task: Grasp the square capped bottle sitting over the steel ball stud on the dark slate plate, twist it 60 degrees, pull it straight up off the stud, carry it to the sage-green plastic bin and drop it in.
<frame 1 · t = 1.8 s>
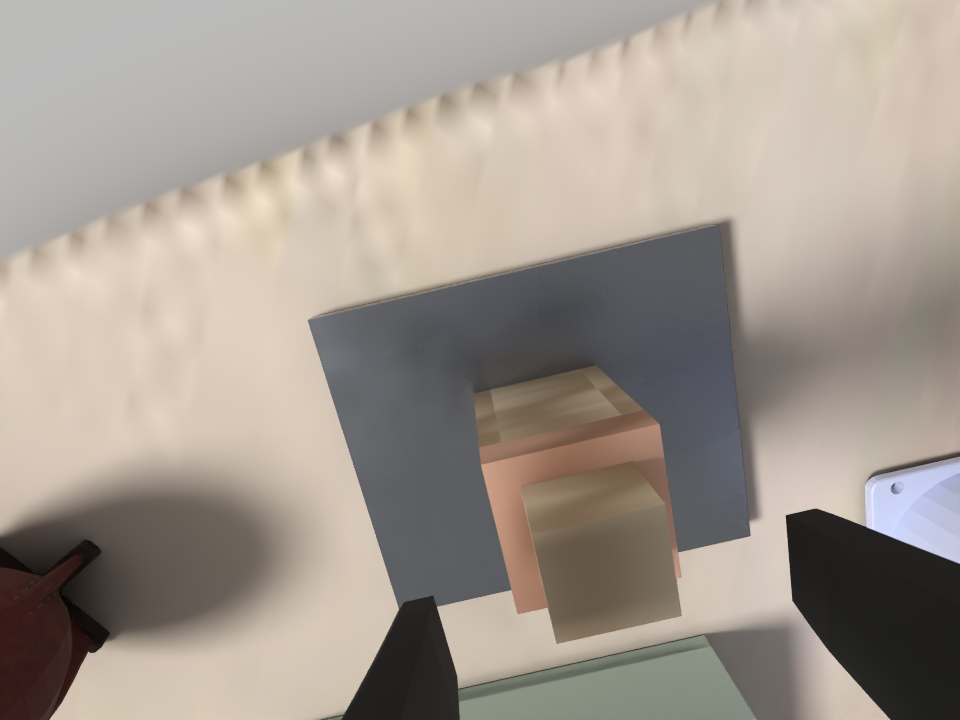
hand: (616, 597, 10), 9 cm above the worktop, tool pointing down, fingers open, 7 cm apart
square capped bottle: (546, 436, 18), point 1 cm above the worktop, touching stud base
mate gourd: (34, 589, 20), on the worktop
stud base: (542, 428, 19), on the worktop
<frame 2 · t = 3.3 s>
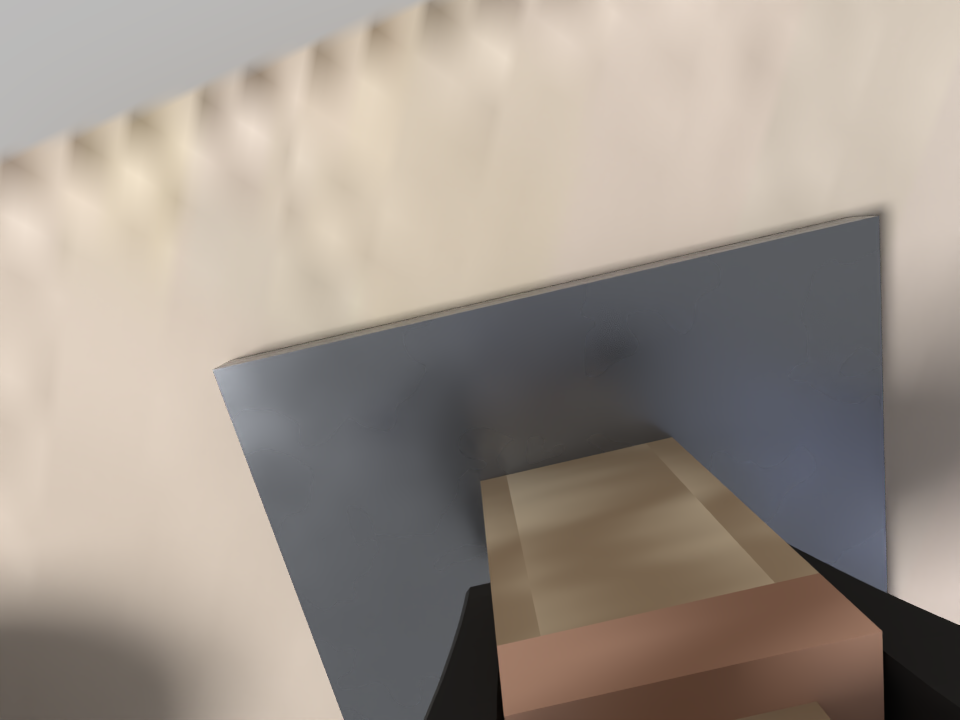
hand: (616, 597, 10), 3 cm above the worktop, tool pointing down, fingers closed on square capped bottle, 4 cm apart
square capped bottle: (592, 543, 12), point 1 cm above the worktop, touching gripper, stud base
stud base: (583, 523, 12), on the worktop
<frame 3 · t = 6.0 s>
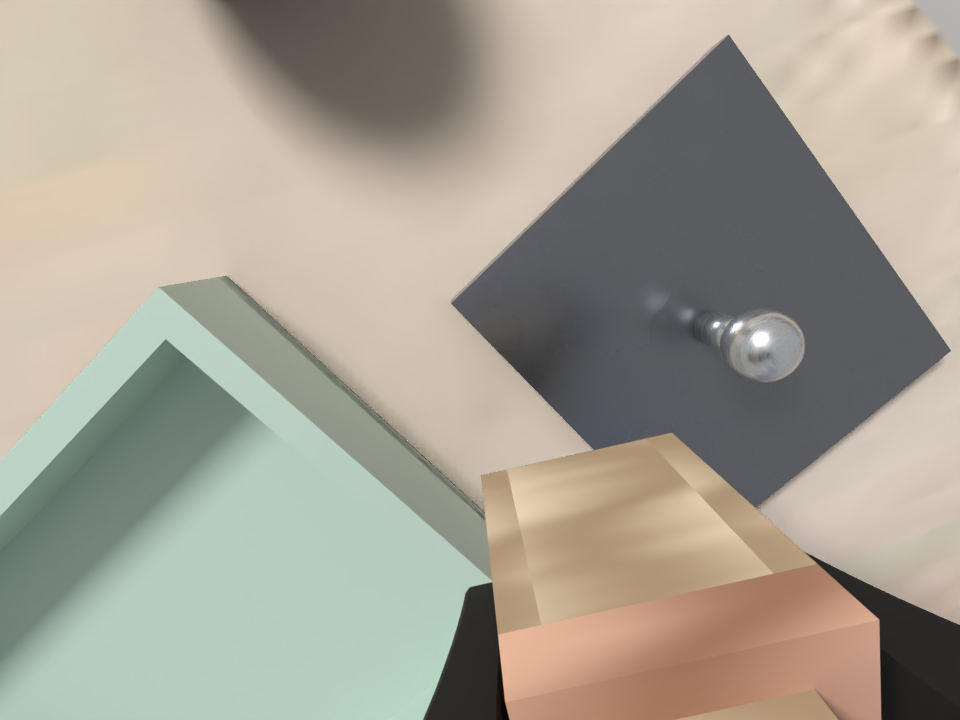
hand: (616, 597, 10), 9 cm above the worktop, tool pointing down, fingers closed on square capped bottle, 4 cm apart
square capped bottle: (591, 537, 12), point 8 cm above the worktop, touching gripper
bin: (225, 621, 20), on the worktop
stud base: (699, 324, 18), on the worktop
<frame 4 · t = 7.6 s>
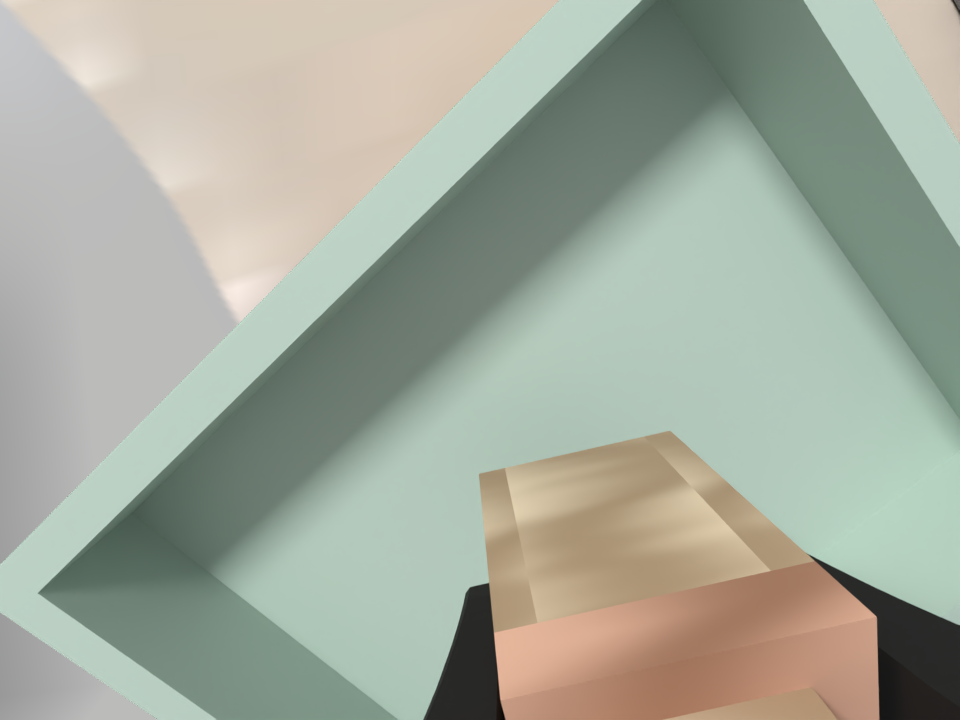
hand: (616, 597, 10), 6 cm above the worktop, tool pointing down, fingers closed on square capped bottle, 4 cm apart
square capped bottle: (590, 536, 12), point 4 cm above the worktop, touching gripper
bin: (559, 466, 15), on the worktop
when the fingers open (4 cm above the worktop, at t = 8.8 s): square capped bottle drops 1 cm, resting on bin.
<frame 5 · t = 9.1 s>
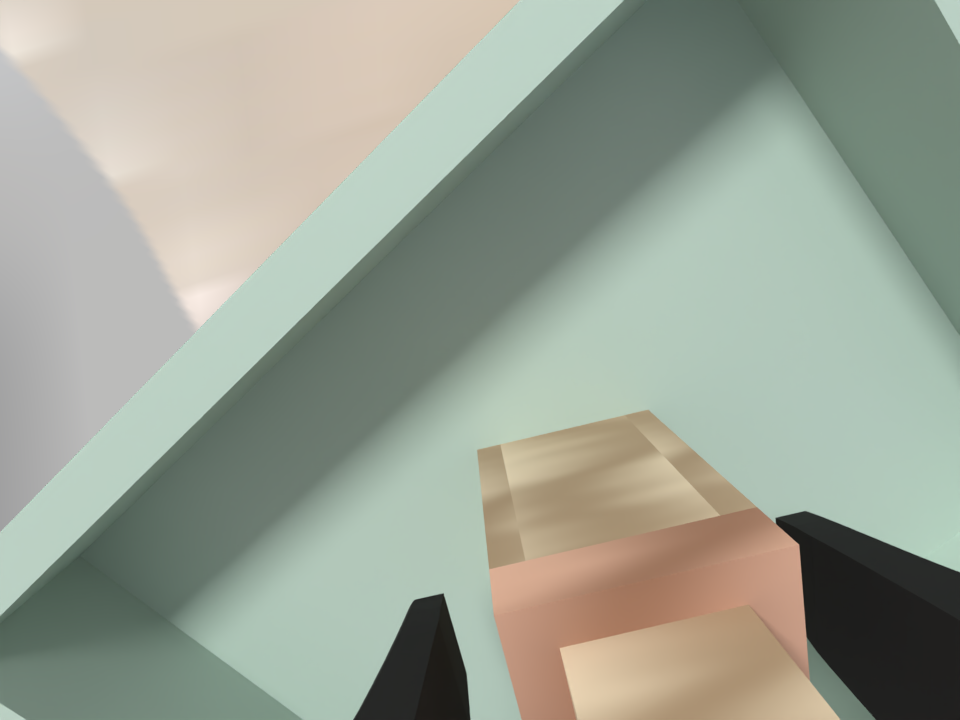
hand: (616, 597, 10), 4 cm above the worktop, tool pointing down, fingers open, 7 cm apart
square capped bottle: (577, 506, 13), point 1 cm above the worktop, touching bin
bin: (572, 499, 14), on the worktop
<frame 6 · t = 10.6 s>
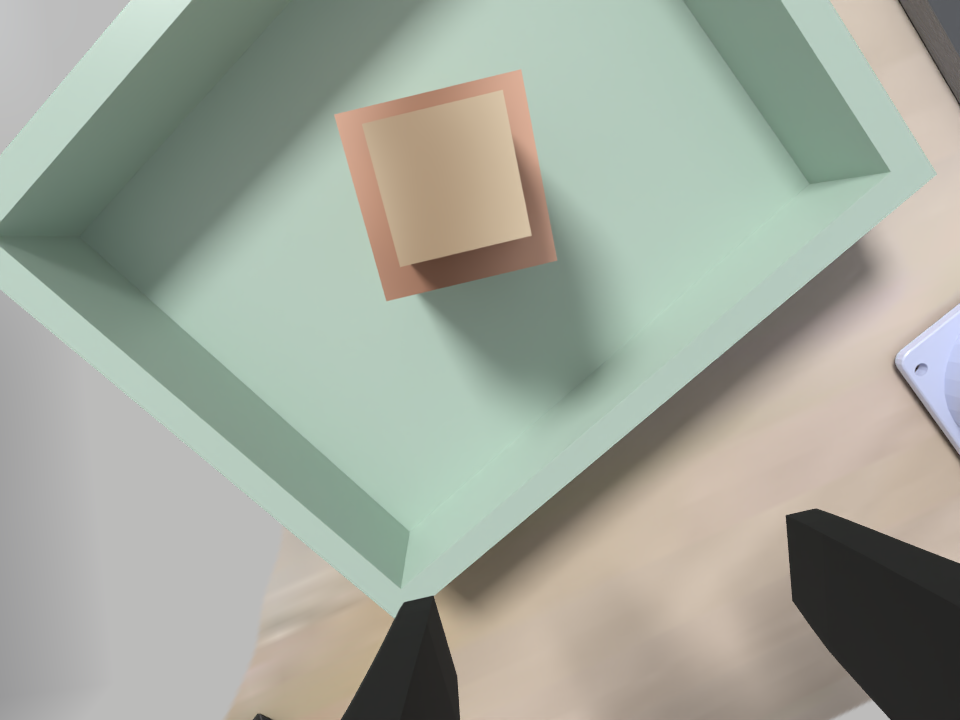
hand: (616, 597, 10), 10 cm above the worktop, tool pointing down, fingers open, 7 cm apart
square capped bottle: (452, 205, 17), point 1 cm above the worktop, touching bin
bin: (452, 210, 18), on the worktop
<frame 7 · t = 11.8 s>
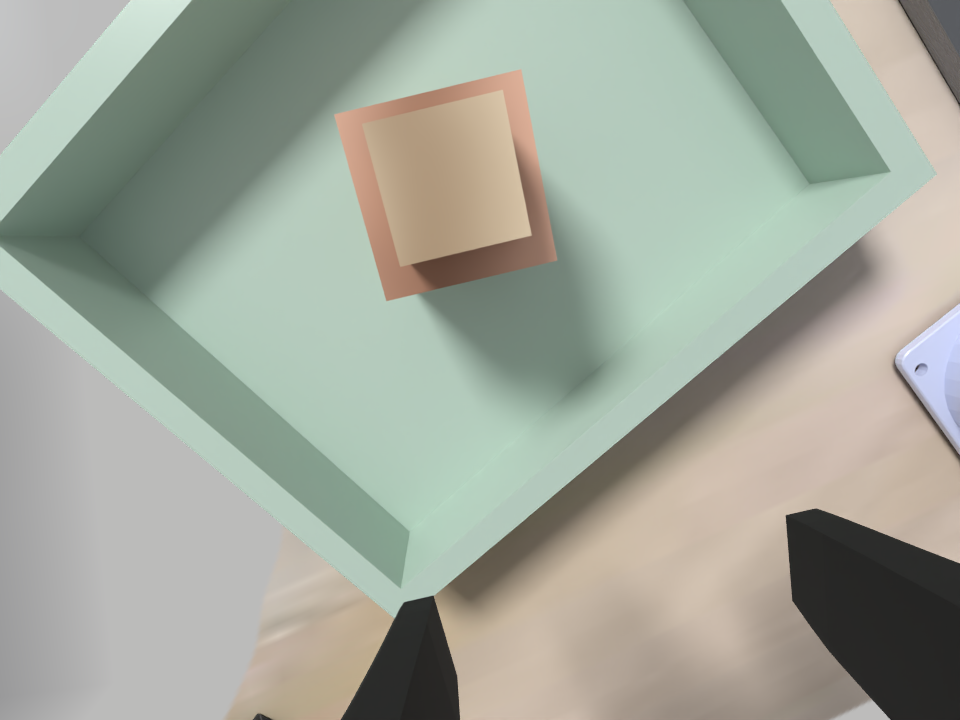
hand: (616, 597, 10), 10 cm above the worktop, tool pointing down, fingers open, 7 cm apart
square capped bottle: (452, 205, 17), point 1 cm above the worktop, touching bin
bin: (452, 210, 18), on the worktop
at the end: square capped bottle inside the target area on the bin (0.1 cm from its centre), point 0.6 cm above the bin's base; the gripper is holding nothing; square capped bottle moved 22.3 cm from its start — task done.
